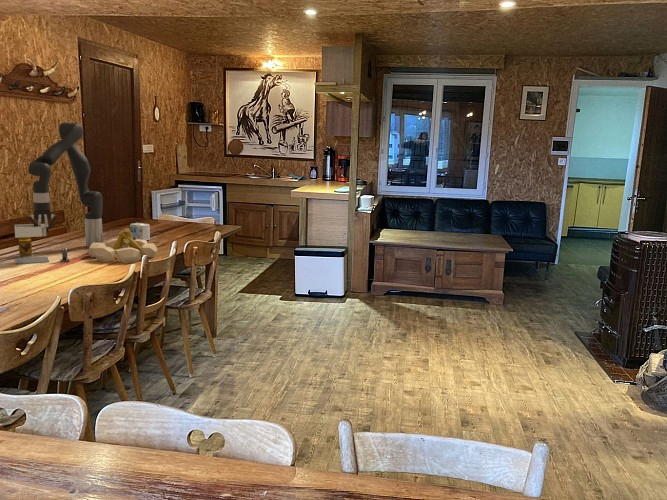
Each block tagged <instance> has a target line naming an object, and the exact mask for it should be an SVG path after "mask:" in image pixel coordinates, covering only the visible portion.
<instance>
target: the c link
mask: <svg viewBox="0 0 667 500" xmlns="http://www.w3.org/2000/svg"><path fill="white" fill-rule="evenodd" d="M14 237H15V238H19V237H30V238H32V237H33V238H34V237H35V238H36V237H37V238H38V237H47V234H46V226H45V223H41V226H34V224H33V223H29V224H27V223H26V224H14Z"/></svg>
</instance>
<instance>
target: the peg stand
mask: <svg viewBox="0 0 667 500" xmlns="http://www.w3.org/2000/svg"><path fill="white" fill-rule="evenodd" d="M61 257H62V258H61V259H60V262H61V263H70V261H71V260H70V258H68V248H67V247H63V248H61Z"/></svg>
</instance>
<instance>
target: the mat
mask: <svg viewBox="0 0 667 500" xmlns="http://www.w3.org/2000/svg"><path fill="white" fill-rule="evenodd" d="M48 257H49V256H34V257H33V256H31V257H26V258H24V257H16V258H15V265H27V264H28V265H29V264H45V263H50V260H49V258H48Z"/></svg>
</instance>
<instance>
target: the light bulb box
mask: <svg viewBox="0 0 667 500" xmlns="http://www.w3.org/2000/svg"><path fill="white" fill-rule="evenodd" d="M129 226H130V228H129V229H130V232H131V235H132V238H133V240H137V239H141V240H146V241H147V240H150V241H151V237H150V236H151V234H150V233H151V230H150V228H151V225H150V224H149V223H142V222H141V223H140V222H134V223H130V225H129ZM147 242H148V241H147Z"/></svg>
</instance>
